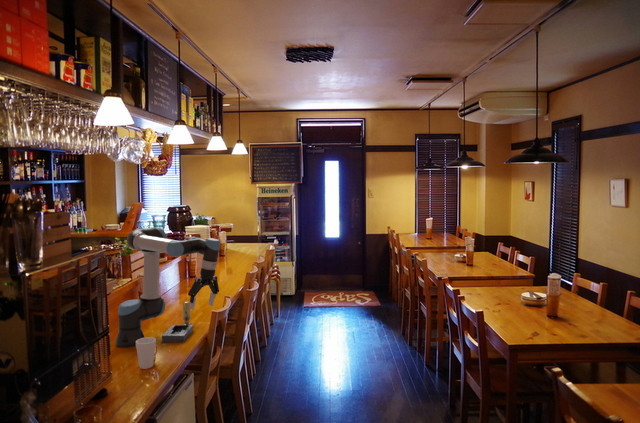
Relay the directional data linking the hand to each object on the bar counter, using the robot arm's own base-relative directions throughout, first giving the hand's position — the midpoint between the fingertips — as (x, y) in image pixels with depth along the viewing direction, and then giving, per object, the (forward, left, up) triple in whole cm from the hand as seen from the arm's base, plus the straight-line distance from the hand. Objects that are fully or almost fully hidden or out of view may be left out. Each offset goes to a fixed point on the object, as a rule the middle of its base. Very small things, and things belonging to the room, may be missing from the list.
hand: (201, 306), depth 234 cm
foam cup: (-5, -28, -26) cm, 38 cm away
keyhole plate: (-33, +4, -25) cm, 42 cm away
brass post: (-48, +18, -25) cm, 58 cm away
